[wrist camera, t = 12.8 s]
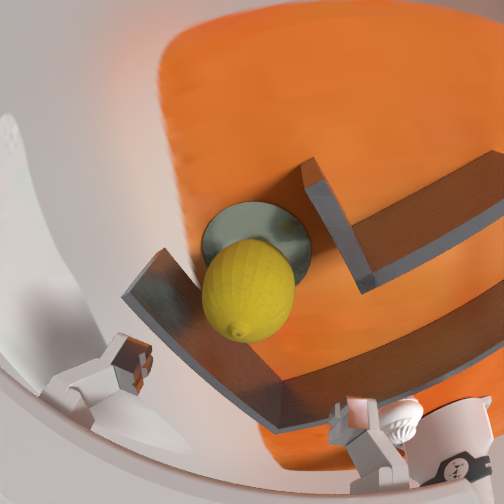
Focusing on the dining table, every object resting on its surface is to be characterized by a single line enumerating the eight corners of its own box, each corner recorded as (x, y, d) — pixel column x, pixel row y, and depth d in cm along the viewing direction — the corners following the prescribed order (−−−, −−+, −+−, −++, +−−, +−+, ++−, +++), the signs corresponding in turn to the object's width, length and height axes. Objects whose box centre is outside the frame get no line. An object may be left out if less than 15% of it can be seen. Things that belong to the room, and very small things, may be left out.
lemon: (234, 292, 22) (210, 371, 15) (208, 231, 20) (166, 299, 13) (302, 279, 21) (304, 362, 14) (283, 212, 19) (278, 279, 12)
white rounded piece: (413, 374, 25) (426, 424, 19) (419, 395, 27) (430, 440, 21) (364, 393, 28) (370, 444, 22) (376, 412, 30) (381, 457, 24)
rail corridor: (509, 282, 18) (538, 320, 13) (279, 387, 28) (274, 434, 23) (467, 81, 12) (520, 81, 7) (156, 252, 22) (121, 297, 17)
